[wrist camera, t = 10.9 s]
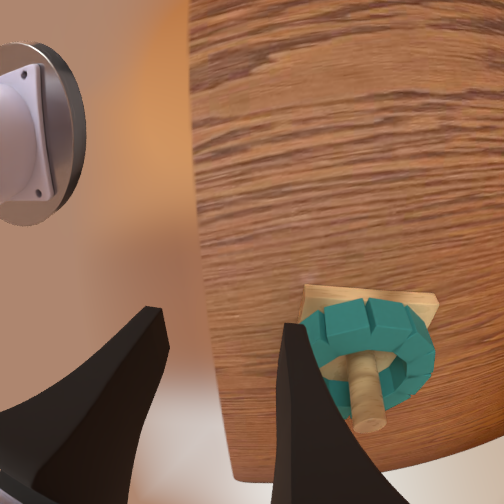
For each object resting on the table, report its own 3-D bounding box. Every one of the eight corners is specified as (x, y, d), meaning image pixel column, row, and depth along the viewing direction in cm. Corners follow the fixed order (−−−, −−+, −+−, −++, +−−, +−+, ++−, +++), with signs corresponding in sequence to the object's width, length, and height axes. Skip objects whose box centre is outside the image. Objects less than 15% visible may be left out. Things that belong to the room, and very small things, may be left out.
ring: (267, 386, 23) (265, 411, 21) (303, 285, 17) (304, 314, 15) (385, 397, 23) (389, 420, 21) (450, 309, 17) (463, 335, 15)
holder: (287, 371, 24) (282, 453, 18) (304, 283, 19) (307, 383, 13) (391, 374, 23) (405, 449, 17) (434, 292, 18) (471, 378, 12)
